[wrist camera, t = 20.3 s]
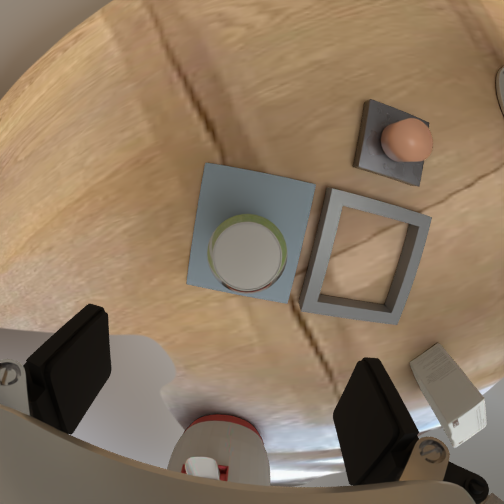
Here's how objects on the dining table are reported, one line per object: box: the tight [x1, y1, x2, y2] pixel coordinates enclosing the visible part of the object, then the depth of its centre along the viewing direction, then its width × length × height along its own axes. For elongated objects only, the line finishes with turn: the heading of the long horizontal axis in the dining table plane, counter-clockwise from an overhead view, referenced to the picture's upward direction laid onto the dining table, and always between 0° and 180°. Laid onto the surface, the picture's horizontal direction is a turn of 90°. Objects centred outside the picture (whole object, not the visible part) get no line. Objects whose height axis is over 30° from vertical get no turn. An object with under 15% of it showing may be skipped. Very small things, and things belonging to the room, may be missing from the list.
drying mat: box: [187, 163, 316, 303], centre depth 32 cm, size 14×12×1 cm
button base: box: [353, 99, 429, 186], centre depth 29 cm, size 8×8×2 cm
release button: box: [381, 118, 433, 162], centre depth 26 cm, size 4×4×4 cm
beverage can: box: [207, 214, 287, 294], centre depth 26 cm, size 6×7×12 cm
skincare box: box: [410, 343, 486, 448], centre depth 31 cm, size 8×6×15 cm
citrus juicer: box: [167, 414, 270, 486], centre depth 32 cm, size 16×17×20 cm
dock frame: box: [299, 187, 432, 325], centre depth 32 cm, size 14×13×2 cm
